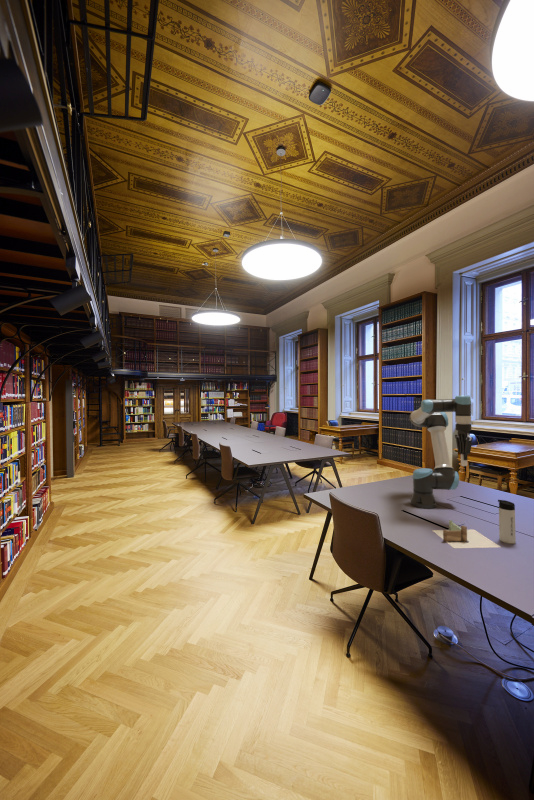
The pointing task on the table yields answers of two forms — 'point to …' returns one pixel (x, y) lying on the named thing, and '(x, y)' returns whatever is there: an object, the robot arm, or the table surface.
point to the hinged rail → (453, 526)
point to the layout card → (470, 540)
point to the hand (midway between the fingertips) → (464, 465)
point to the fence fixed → (455, 535)
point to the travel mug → (507, 522)
